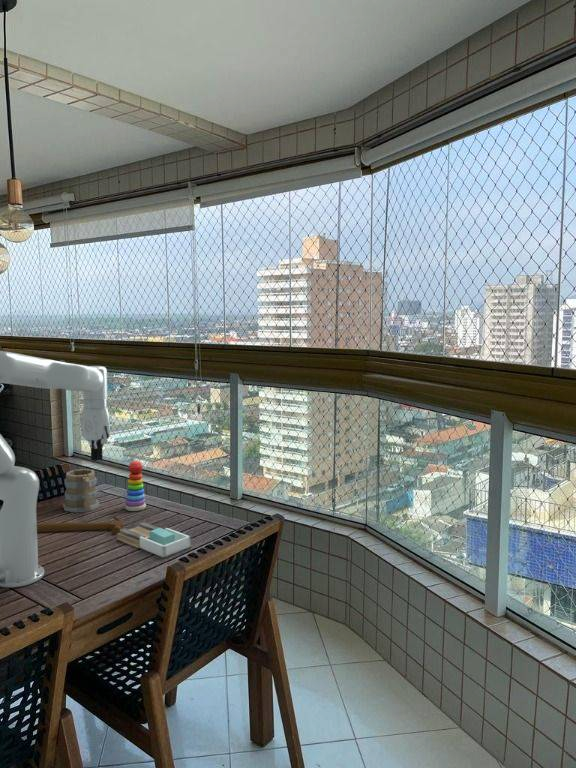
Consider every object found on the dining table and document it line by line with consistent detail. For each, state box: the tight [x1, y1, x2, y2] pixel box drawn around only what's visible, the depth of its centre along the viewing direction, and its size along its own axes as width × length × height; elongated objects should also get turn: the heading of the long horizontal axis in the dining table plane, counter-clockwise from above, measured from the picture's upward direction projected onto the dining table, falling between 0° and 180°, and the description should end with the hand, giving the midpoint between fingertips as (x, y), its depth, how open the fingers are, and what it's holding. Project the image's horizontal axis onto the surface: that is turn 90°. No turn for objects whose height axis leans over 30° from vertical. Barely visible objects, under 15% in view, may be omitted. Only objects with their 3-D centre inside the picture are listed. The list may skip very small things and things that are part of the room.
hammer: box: [37, 516, 124, 535], centre depth 192 cm, size 12×3×30 cm
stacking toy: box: [124, 460, 147, 512], centre depth 213 cm, size 8×8×19 cm
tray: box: [139, 527, 192, 559], centre depth 177 cm, size 11×12×4 cm
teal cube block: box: [150, 527, 167, 542], centre depth 179 cm, size 4×4×4 cm
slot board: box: [116, 521, 160, 548], centre depth 184 cm, size 12×11×3 cm
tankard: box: [62, 468, 100, 514], centre depth 211 cm, size 20×13×15 cm, turn 28°
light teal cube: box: [157, 531, 175, 545], centre depth 176 cm, size 4×4×4 cm
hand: (96, 459), depth 180 cm, fingers closed
